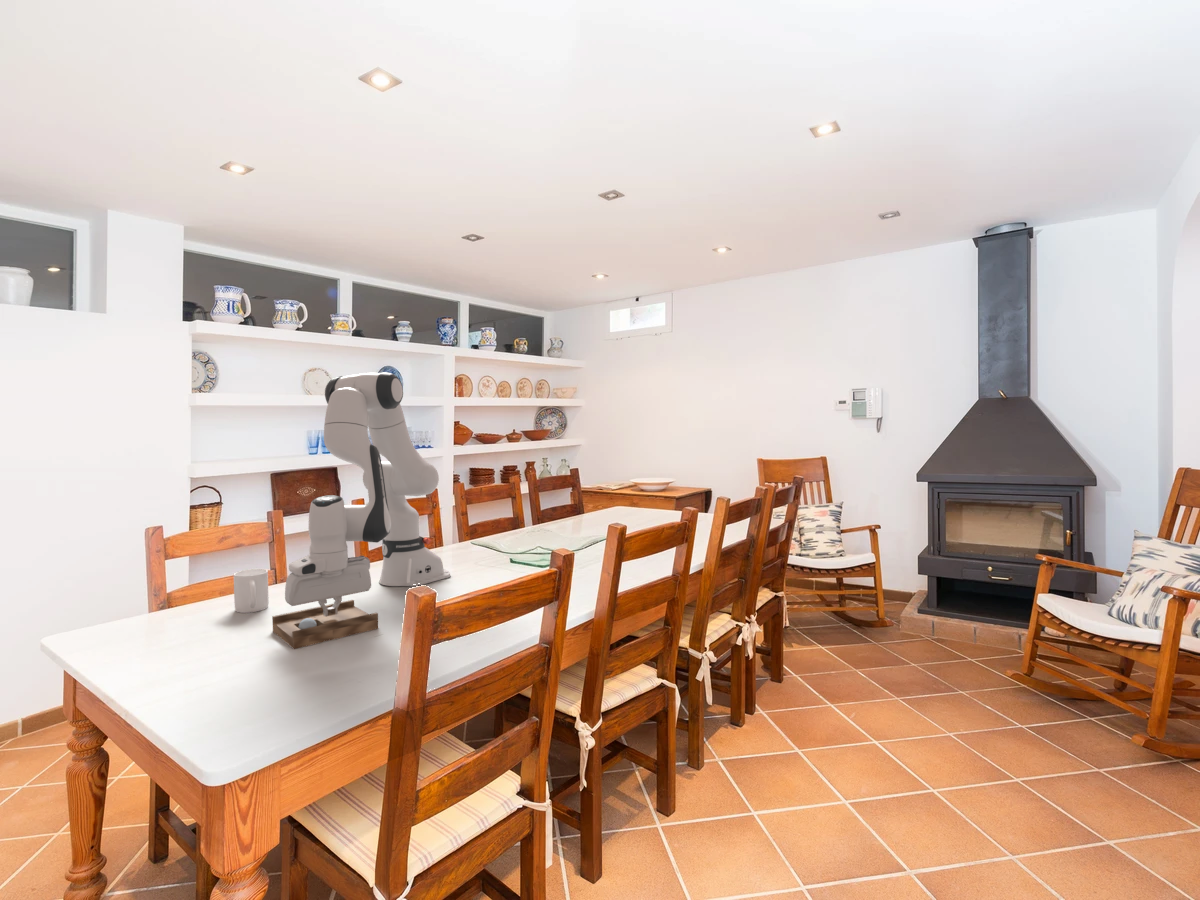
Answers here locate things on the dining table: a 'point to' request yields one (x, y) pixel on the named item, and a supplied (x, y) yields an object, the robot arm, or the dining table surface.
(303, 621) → the ball
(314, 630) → the wooden tray
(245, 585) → the mug
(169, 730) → the dining table surface
